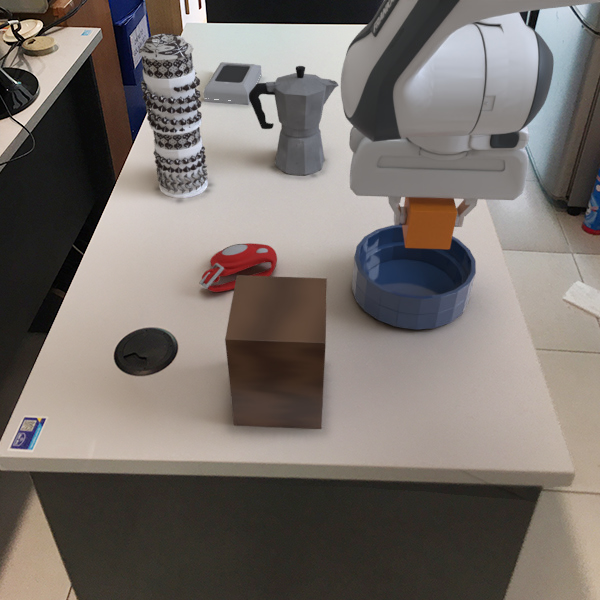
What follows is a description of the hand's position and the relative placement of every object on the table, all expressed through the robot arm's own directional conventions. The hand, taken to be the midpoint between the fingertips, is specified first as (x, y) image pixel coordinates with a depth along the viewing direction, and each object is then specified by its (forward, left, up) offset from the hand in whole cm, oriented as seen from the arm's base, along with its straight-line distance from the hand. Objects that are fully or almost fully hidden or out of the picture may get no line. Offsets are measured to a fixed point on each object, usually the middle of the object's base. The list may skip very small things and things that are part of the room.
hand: (427, 223), depth 78 cm
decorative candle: (+46, -9, -14) cm, 49 cm away
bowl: (+1, -2, -14) cm, 14 cm away
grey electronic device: (+61, -47, -14) cm, 79 cm away
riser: (+8, +23, -14) cm, 28 cm away
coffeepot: (+33, -25, -14) cm, 44 cm away
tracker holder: (+25, +7, -14) cm, 30 cm away
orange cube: (0, 0, -2) cm, 2 cm away
